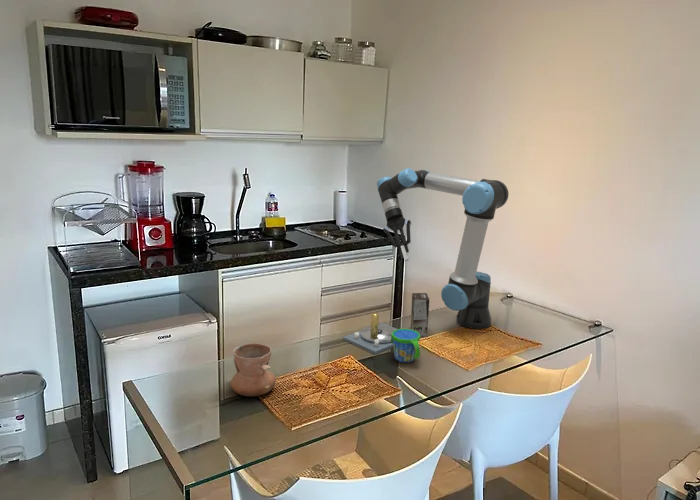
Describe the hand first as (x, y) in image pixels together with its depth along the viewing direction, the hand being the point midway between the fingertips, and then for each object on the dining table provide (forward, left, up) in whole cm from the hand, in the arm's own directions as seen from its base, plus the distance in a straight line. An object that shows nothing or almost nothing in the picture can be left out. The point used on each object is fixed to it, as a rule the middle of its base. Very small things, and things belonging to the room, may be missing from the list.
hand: (406, 260), depth 229 cm
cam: (-6, +23, -27) cm, 35 cm away
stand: (-6, +23, -28) cm, 37 cm away
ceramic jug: (-7, +84, -28) cm, 88 cm away
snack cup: (-25, +29, -28) cm, 47 cm away
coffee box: (-12, +5, -28) cm, 31 cm away
